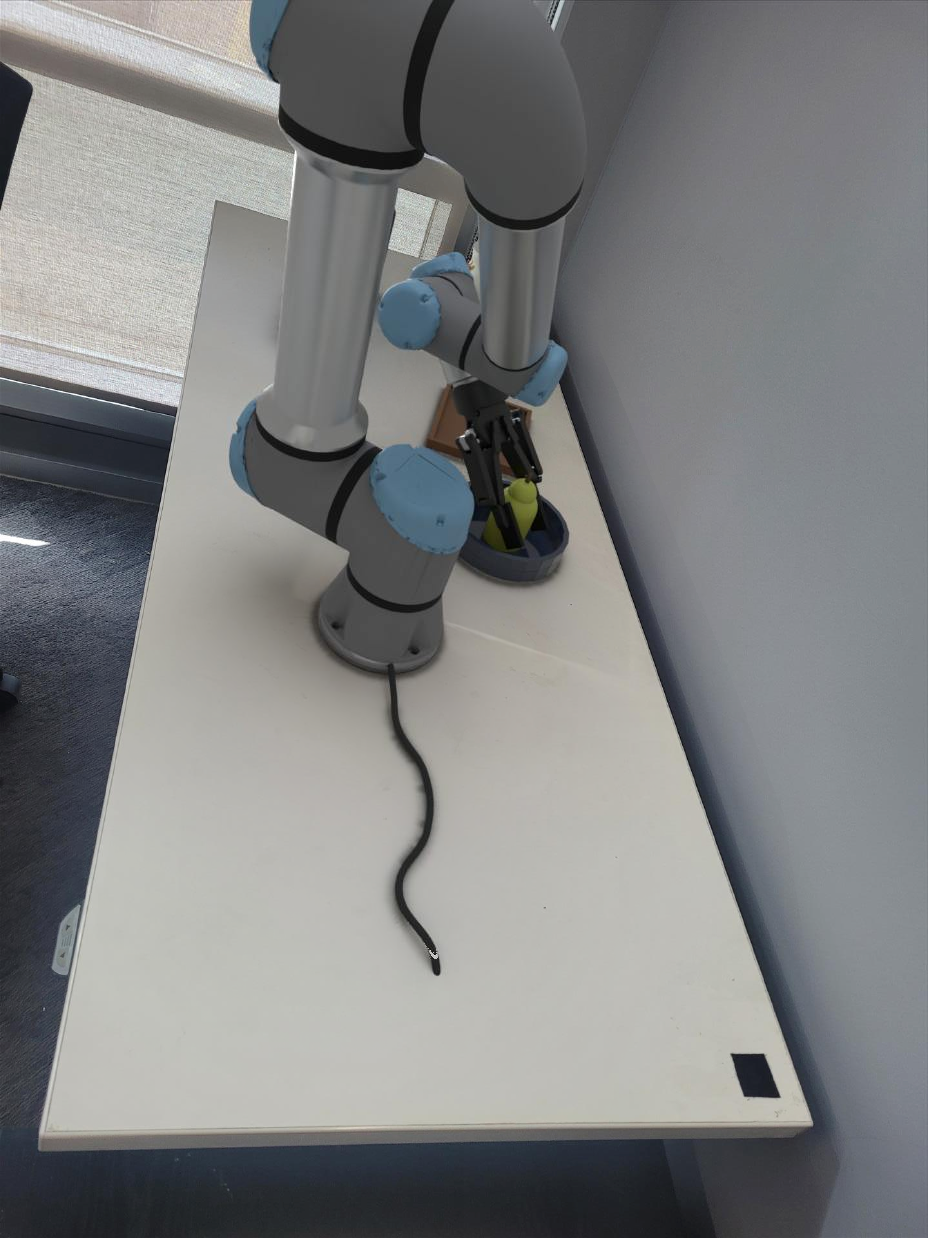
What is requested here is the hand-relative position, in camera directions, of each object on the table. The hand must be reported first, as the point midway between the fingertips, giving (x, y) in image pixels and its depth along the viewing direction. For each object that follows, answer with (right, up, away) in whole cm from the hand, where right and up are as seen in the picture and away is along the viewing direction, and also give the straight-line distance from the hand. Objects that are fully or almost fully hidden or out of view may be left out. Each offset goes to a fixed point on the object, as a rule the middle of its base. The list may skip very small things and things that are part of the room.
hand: (528, 538), depth 116 cm
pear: (-4, 0, +3) cm, 5 cm away
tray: (-7, +20, +21) cm, 30 cm away
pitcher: (-6, +50, +51) cm, 72 cm away
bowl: (-4, 0, +3) cm, 5 cm away
